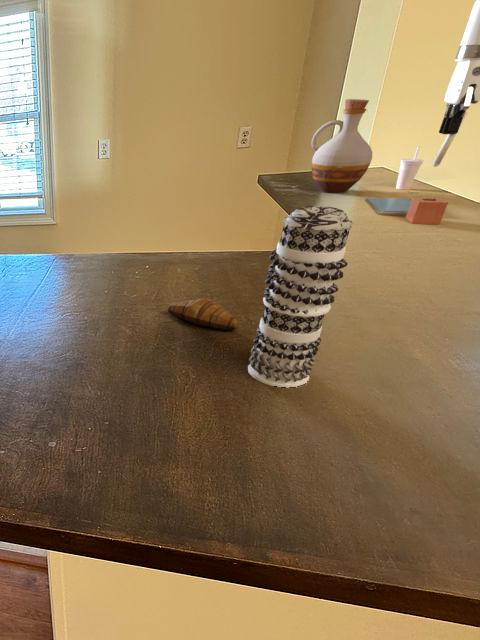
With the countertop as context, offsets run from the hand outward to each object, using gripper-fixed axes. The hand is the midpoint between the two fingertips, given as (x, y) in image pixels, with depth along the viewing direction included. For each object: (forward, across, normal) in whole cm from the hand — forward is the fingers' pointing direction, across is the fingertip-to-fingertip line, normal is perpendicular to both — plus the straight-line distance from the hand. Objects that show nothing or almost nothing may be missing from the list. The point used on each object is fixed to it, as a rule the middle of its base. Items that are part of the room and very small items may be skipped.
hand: (447, 133), depth 129 cm
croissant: (+22, -88, +56) cm, 107 cm away
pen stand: (+23, -4, 0) cm, 23 cm away
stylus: (+9, 0, 0) cm, 9 cm away
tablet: (+23, +12, +2) cm, 26 cm away
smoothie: (+23, +43, -7) cm, 50 cm away
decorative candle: (+22, -104, +44) cm, 115 cm away
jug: (+23, +39, +16) cm, 48 cm away
